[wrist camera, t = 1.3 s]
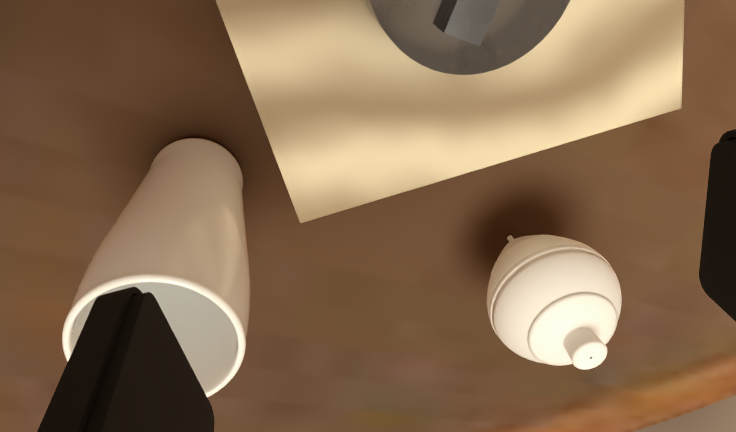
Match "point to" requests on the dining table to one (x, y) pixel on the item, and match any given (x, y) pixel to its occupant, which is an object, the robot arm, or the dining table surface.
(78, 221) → the dining table surface
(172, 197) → the drinking glass
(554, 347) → the spinning top
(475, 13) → the silver piece
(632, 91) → the board
